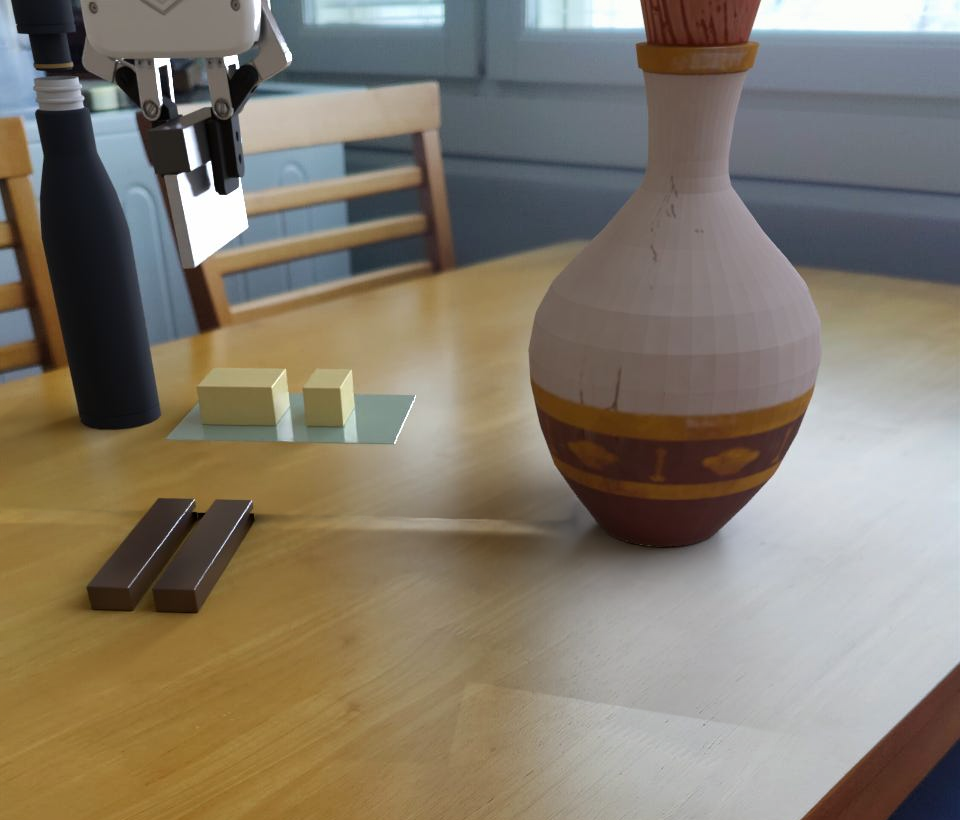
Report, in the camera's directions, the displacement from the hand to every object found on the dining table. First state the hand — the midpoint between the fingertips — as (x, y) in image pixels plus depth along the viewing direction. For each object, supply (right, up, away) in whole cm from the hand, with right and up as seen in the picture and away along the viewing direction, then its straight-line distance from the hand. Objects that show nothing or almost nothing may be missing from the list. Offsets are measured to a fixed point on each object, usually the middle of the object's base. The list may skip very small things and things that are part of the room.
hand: (205, 188), depth 76 cm
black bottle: (-12, -7, +23) cm, 27 cm away
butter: (-2, -6, +22) cm, 23 cm away
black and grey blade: (0, -3, +2) cm, 3 cm away
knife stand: (-2, -23, +2) cm, 23 cm away
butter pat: (+5, -7, +21) cm, 23 cm away
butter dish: (+2, -7, +22) cm, 24 cm away
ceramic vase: (+30, -19, +6) cm, 36 cm away
